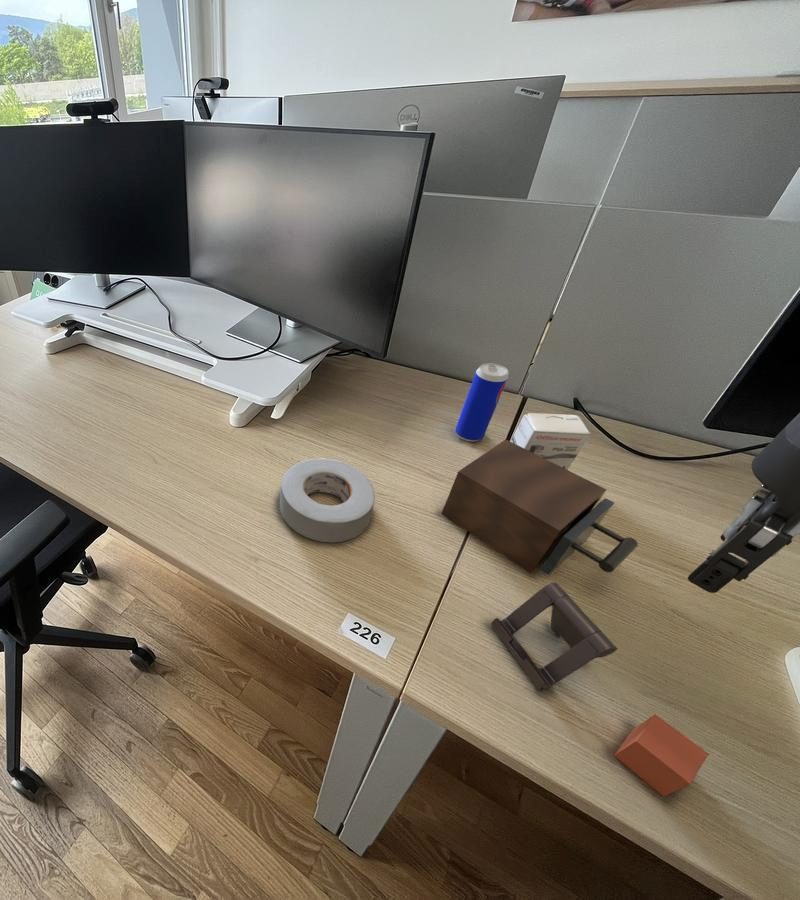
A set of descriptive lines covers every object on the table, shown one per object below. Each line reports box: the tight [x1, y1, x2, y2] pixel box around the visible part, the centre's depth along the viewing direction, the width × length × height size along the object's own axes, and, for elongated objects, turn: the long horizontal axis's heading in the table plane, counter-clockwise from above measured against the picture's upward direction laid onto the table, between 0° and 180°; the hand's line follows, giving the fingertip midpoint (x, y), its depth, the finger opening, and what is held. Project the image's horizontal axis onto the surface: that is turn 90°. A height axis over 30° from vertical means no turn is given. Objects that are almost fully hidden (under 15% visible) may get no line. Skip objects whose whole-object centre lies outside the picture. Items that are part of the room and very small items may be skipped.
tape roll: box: [279, 457, 376, 543], centre depth 79 cm, size 15×15×5 cm
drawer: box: [539, 497, 639, 576], centre depth 69 cm, size 19×12×8 cm, turn 33°
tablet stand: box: [490, 581, 618, 691], centre depth 57 cm, size 9×8×8 cm
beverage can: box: [455, 362, 509, 442], centre depth 88 cm, size 5×5×15 cm
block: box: [613, 713, 710, 797], centre depth 48 cm, size 4×4×4 cm
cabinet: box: [441, 439, 607, 574], centre depth 72 cm, size 15×13×10 cm
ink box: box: [510, 412, 592, 471], centre depth 80 cm, size 9×5×12 cm, turn 80°
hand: (717, 563), depth 48 cm, fingers open, 8 cm apart
